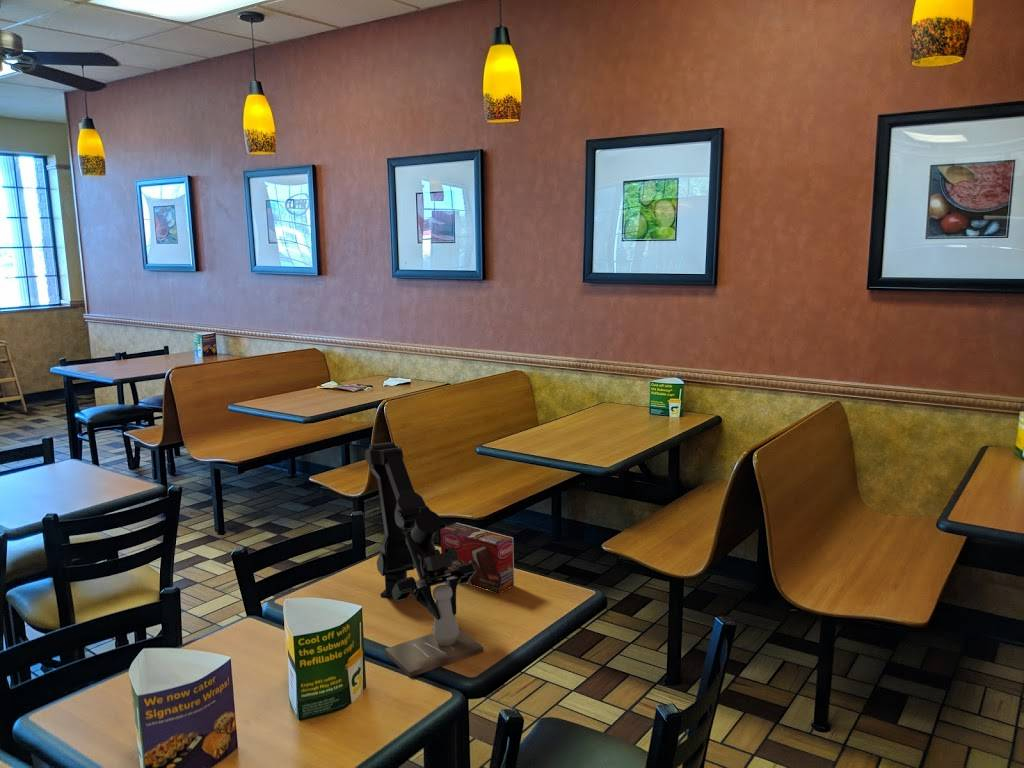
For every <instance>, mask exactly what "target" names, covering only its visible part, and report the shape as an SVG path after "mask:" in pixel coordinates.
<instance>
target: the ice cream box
mask: <svg viewBox="0 0 1024 768" xmlns="http://www.w3.org/2000/svg"><path fill="white" fill-rule="evenodd" d="M439 531H440V553H441V554H443V553H445V549H446V548H450V547H455V549H456V552H457V555H458V560H457V561H453V562H452V566H450V567H448V570H447V571H445V573H449V572H452V571H453V569H454V568H455V567H456V565H460V564H464V563H468V562H470V563H471V564H473V565H474V567H475V570H476V573H475V574H474V575H473V577H472V578H471V579H470V581H468V582H466V583H468V584H467V585H469V584H472V585H475V586H478V587H481V588H484V589H488V590H490V591H493V592H496V593H501V592H502V591H504V590H506V589H508V588H509V587H511V586H513V585H514V586H515V559H514V558H515V557H514V537H512V536H509V535H508V536H507V535H504V534H500V533H497V532H493V531H489V530H485V529H483V528H482V529H481V528H478V527H474V526H472V525H467V524H463V523H460V522H455V523H452V524H450V525H448V526H445V527H443V528H440V529H439ZM466 583H465V584H466ZM472 585H471V586H472ZM475 586H474V587H475ZM514 586H513V587H514ZM478 587H477V588H478ZM481 588H480V589H481ZM511 588H512V587H511ZM484 589H483V590H484ZM509 589H510V588H509ZM509 589H508V590H509ZM490 591H489V592H490ZM506 591H507V590H506ZM493 592H492V593H493ZM504 592H505V591H504ZM496 593H495V594H496ZM502 593H503V592H502ZM502 593H501V594H502Z"/></svg>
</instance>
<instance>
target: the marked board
mask: <svg viewBox="0 0 1024 768" xmlns="http://www.w3.org/2000/svg"><path fill="white" fill-rule="evenodd" d="M458 628H459V635H458V637H457V639H456V643H455V644H453V645H451V646H440V645H439V643H438V642H437V640H436V639H435V638H434V635H433V632H432V633H430V634H427V635H423V636H420V637H417V638H414V639H411V640H407V641H405V642H402V643H398V644H395V645H392V646H389V647H386V648H384V654H385V655H386V656H387V657H388V658H389V659H390V660H391V661H392V663H394V664H395V665H396V666H397V667H398V668H399V669H400V670H401V671H403V673H404V674H405V675H406V676H407V677H408V678H412V677H416V676H419V675H422V674H423V673H427V672H431V671H432V670H436V669H438V668H442V667H444V666H446V665H450V664H452V663H456V662H458V661H460V660H464V659H466V658H469V657H472V656H475V655H478V654H480V653H484V652H485V651H484V646H483V645H482V644H481V643H479V642H478V641H477V640H476V639H474V638H473V637H472V636H470V635H469V634H468V633H466V632H465V631H464V630H462V629H461V627H459V626H458Z"/></svg>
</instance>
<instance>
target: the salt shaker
mask: <svg viewBox="0 0 1024 768" xmlns="http://www.w3.org/2000/svg"><path fill="white" fill-rule="evenodd" d="M432 596H433V599H434V601H435V604H436V606H437V608H438V611H439V614H440V620H437V619H436V618H435V617H434V616H433V617H434V618H433V628H432V633H433V635H434V638H435V639H436V640H437V642H438V643H439V645H440V646H451V645H453V644H455V643H456V639H457V637H458V635H459V628H460V627H459V625H458V621H457V618H456V615H454V614H453V608H452V603H451V599H450V598H451V597H452V589H451V587H450V586H448V585H444V584H438V585H436V586H435V587H434V588H433V590H432ZM458 627H459V628H458Z"/></svg>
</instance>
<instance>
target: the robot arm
mask: <svg viewBox="0 0 1024 768" xmlns="http://www.w3.org/2000/svg"><path fill="white" fill-rule="evenodd" d="M402 447H403V446H401V445H395V443H394V442H393V441H390V442H383V443H375V444H373V443H372V444H369V447H368V449H365V452H364V453H365V455H364V457H365V461H366V463H367V464H368V467H369V469H368V470H369V471H370V472H371V473H372V474H373V475H374V477H375V479H377V481H376V482H377V486H378V493H379V494H378V495H379V501H380V508H381V515H382V522H383V523H382V524H383V530H384V531H383V532H384V536H383V539H382V541H381V543H380V546H379V549H380V552H379V554H378V557H377V560H376V568H377V571H378V573H379V574H380V575H381V576H382V577H384V583H385V588H384V589H383V591H382V592H381V593H380V597H387V598H392V599H393V601H394V602H399V601H403V600H406V599H408V598H409V595H410V592H411V594H412V597H411V601H416V602H418V603H419V604H420V605H421V606H423V607H424V608H425V609H426V610H427V611H428V612H429V613H430V614H431V615H432V616H433V617H435V618H436V619H437V620H440V614H439V611H438V608H437V606H436V600H435V599H434V597H433V593H432V589H431V588H432V587H433V586H438V585H442V584H443V585H448V586H450V587H451V589H452V597H451V598H450V599H451V603H452V608H453V614H454V615H455V616H456V615H457V587H458V585H461V584H462V585H463V584H466V582H468V581H470V579H471V578H472V577H473V575H474V574H475V573H476V570H475V567H474V565H473V564H471V563H470V562H468V563H464V564H460V565H456V567H455V568H454V569H453V571H452V572H449V573H445V571H447V570H448V567H450V566H452V562H453V561H457V560H458V555H457V552H456V549H455V547H450V548H446V549H445V553H443V554H441V550H439V549H437V548H436V547H435V543H434V542H435V541H434V540H435V539H436V538H437V535H438V533H439V531H440V529H441V526H442V519H441V517H440V516H439V515H438V514H437V513H436V512H434V511H432V510H431V509H430V507H429V506H428V505H426V502H425V500H424V498H423V497H422V496H421V495H420V494H418V493H417V492H415V489H414V487H413V484H412V482H411V479H410V475H409V472H408V470H407V467H406V464H405V461H404V452H403V450H402ZM408 529H409V530H410V531H408V533H407V534H405V532H404V531H403V530H408ZM414 570H416V572H417V576H418V580H416V579H415V577H413V576H410V577H408V572H409V571H414Z"/></svg>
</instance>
